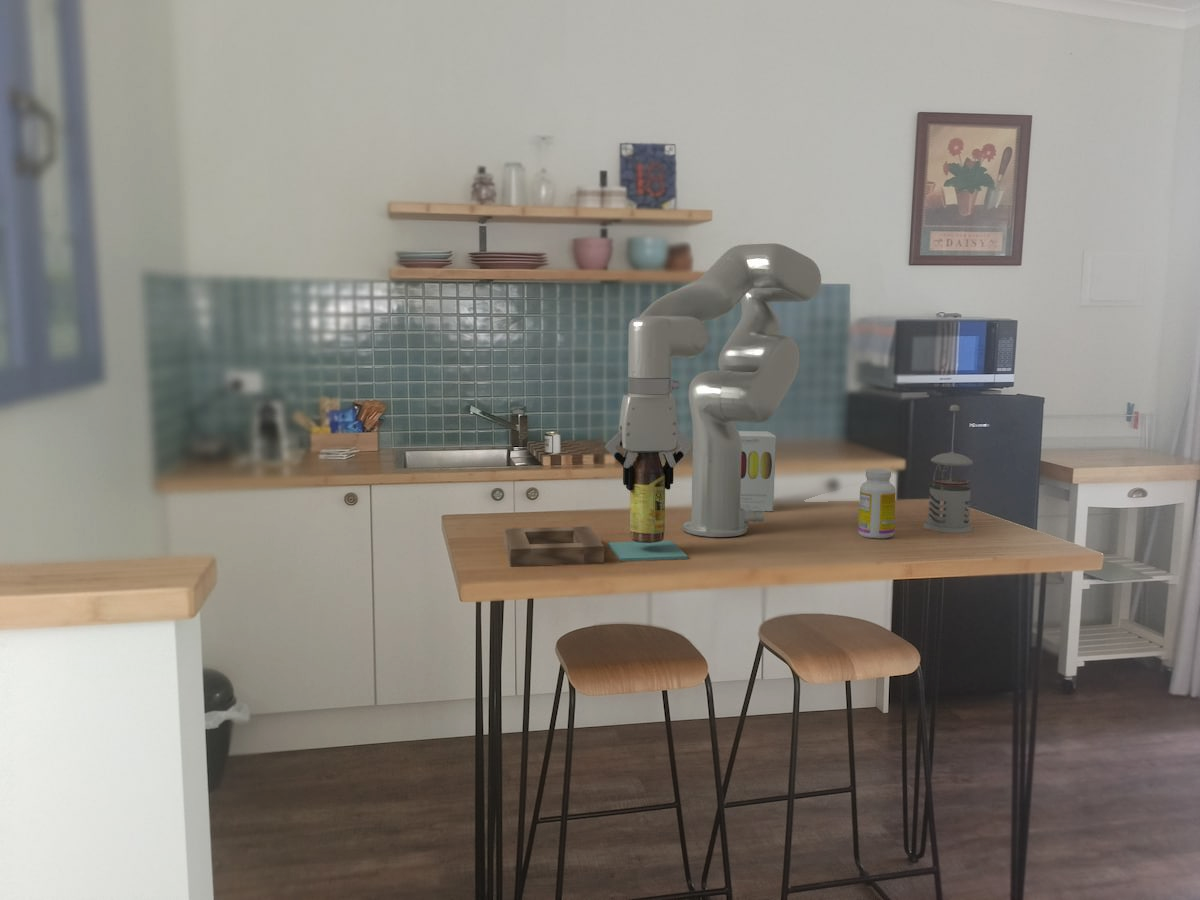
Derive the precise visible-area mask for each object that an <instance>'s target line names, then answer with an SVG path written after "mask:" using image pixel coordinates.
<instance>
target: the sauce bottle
mask: <svg viewBox="0 0 1200 900" xmlns="http://www.w3.org/2000/svg"><path fill="white" fill-rule="evenodd" d="M636 454H637V456H636V457H635V460H633V461H632V464H631V465H632V466H631V467H632V468H633V490H629V508H630V509H629V531H630V539H631V541H632V542H639V543H653V542H660V541H664V538H665V537H664V536H665V526H666V525H665V524H666V522H665V521H666V520H665V518H666V514H665V513H666V489H665V472H664V469H663V466H664V465H663V464H662V461H661V458H660V452H640V453H636Z"/></svg>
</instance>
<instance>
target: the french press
mask: <svg viewBox="0 0 1200 900" xmlns="http://www.w3.org/2000/svg"><path fill="white" fill-rule="evenodd" d="M949 411H951V412H952V411H953V423H952V438H951V451H950V452H945V453H940V454H936V455H935V456H933V457H932V458H930V461H931V462H932V463H933V464H935V465H936V467H935V470H934V472H933V478H932V479H931V482H932V484H931V485H930V486H929V494H930V495H928V496H929V497H928V499H929V501H928V506H929V507H928V513H927V514H928V515H927V516H928V517H927V521H926V522H925V523H924V524H922V525H921V526H922V528H924V529H925V530H926V529H927V530H929V531H935V532H939V533H946V534H947V533H948V534H949V533H952V534H962V533H963V534H964V533H971V532H973V531H974V528H973V527H972V526H971V525H970V524H969V523H970V521H969V519H970V509H971V508H970V506H971V493H972V491H971V488H970V487H967V486H966V485H969V483H970V481H969V480H968V479H965V478H963V477H962V478H959V477H957V478H956V477H952V471H953V468H952V467H953V466H954V467H966V466H967V467H968V466H972V465H973V464H974V461H973V460H972V459H970V458H969V457H968V456H966V455H963V454H960V453H957V452H954V438H955V437H954V435H955V420H956V417H955V416H956V412H959V411H961V410H960V405H959V404H952V405H950V407H949ZM941 465H942V466H943V469H941ZM949 466H950V469H949ZM937 470H939V471H940V472H941V476H938V477H936V473H937ZM948 470H950V471H949V472H950V473H949V477H948V476H947V477H946V476H945V477H944V472H945V473H946V472H947V471H948ZM935 483H936V484H935ZM943 485H944V487H943ZM941 502H943V504H941ZM940 509H942V510H940ZM940 515H942V516H940Z"/></svg>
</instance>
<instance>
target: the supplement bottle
mask: <svg viewBox="0 0 1200 900" xmlns="http://www.w3.org/2000/svg"><path fill="white" fill-rule="evenodd" d="M891 477H892V471H891V470H889V469H883V468H868V469H866V470H865V478H866V481H865V482H864V483H863V482H862V484H861V485H860V487H859V505H858V506H859V507H858V509H859V510H858V534H859V535H860V536H862V537H863V538H869V539H878V540H879V539H880V540H881V539H882V540H883V539H890V538H892V537H893V536H894V533H895V517H896V515H895V514H896V513H895V511H896V493H897V492H896V487H895V485H894V484H892V483H890V481H891Z"/></svg>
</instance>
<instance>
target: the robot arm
mask: <svg viewBox="0 0 1200 900" xmlns="http://www.w3.org/2000/svg"><path fill="white" fill-rule="evenodd" d="M821 285H822V275H821V270H820V268H819V266H818V265H817V263H816V262H815V261H814V260H813V259H812V258H810V257H808V256H807V255H804V254H802V253H800V252H798V251H797V250H795V249H793V248H791V247H788V246H786V245H783V244H780V243H773V242H772V243H755V244H754V243H753V244H752V243H751V244H750V243H749V244H738V245H735V246H733V247H730V248H729V249H728V250H726V251H725V252H724V253H723V254H722V255H721V256H720V257H719V258H718V260H717V261H715V262H714V263H713V265H711V266H710V267H709V268H708V270H706V271H705V272H704V273H703V274H702V276H701V277H700V278H699V279H697V280H695V281H693V282H690V283H687V284H686V285H684V286H681V287H679V288H677V289H676V290H673V291H671V292H668V293H667V294H665V295H663V296H661V297H659V298H658V299H656V300H655V301H654V302H652V303H651V304H650V305H649V306H648V307H647V308H646V309H645V310H644V311H643V312H642V313H641V314H640V315H639V317H634V318H632V319H631V320H630V321H629V324H628V346H627V347H628V351H627V352H628V359H627V363H628V364H627V366H628V367H627V375H628V377H627V394H624V395H622V399H621V401H622V402H621V407H620V411H619V412H620V415H619V425H618V432H617V433H616V434H615V435H614V436H613V437H612V438H611V439H610V440H609V441H608V442H607V443H606V444H605V446H604V448H605V449H606V451H607V452H608V453H609V454H610V455H611V456H612V457H614V459H615V460H616V461H617V462H618V463H619V464H620V465H622V483H623V486H625V488H626V489H627V491H630V490H633V468H632V465H633V462H634V459H635V457H636V456H635V455H636V454H637V453H640V452H659V453H661V454H662V456H663V458H664V461H665V462H664V464H663V465H662V466H663V469H664V472H665V490H671V485H673V484H674V468H675V467H676V465H677V464H678V463H679V462H680V461H681V459H683V458H684V456H685V455H686V454H687V453H688V452H690V450H691V449H692V465H691V467H692V469H691V470H692V472H691V515H690V516H691V517H690V519H691V520H688V521H685V522H684V523H683V526H682V527H683V528H682V529H683V531H685V533H687V534H690V535H693V536H699V537H707V538H728V537H729V538H732V537H733V538H734V537H738V536H742V535H745V534H747V532H748V525H747V524H749V522H754V523H757V522H765V521H764V520H765V514H764V513H765V512H753V511H745V510H744V509H742V508H740V493H741V456H742V442H741V438H740V435H739V432H738V431H739V430H738V429H737V427H736V425H735V422H740V423H741V422H742V423H749V424H750V423H753V424H755V423H756V424H758V423H764V422H766V421H768V420H769V419H771V418H772V417H773V415H775V413H776V411H777V409H778V408H779V406H780V405H781V403H782V401H783V399H784V398H785V396H786V394H787V392H788V391H789V389H790V387H791V386H792V384H793V383H794V380H795V379H796V375H797V373H798V370H799V368H800V367H799V365H800V351H799V347H798V344H797V343H796V342H795V340H794V339H792V338H791V337H789V336H787V335H784V334H781V329H782V327H781V323H780V320H779V318H778V316H777V314H776V313H775V311H774V310H773V309H772V305H771V303H778V302H779V303H782V302H784V303H786V302H788V303H794V302H795V303H796V302H800V303H803V302H808V301H811V300H813V299H814V298H815V297H816V296H817V294H818V293H819V292H820V288H821ZM739 302H740V305H741V318H740V320H739V322H738V323H737V325H736V327H735V328H734V329H733V332H732V333H731V335H730V336H729V338H728V340H727V341H726V342H725V344H724V345H723V347H722V349H721V351H720V353H719V356H718V359H717V360H718V361H717V362H718V363H717V365H718V369H719V370H707V371H702V372H700V373H698V374H696V376H695V377H693V378H692V381H691V382H690V384H689V388H688V404H689V409H690V414H691V422H692V444H691V442H689V440H687V439H686V437H684V435H682V434H681V432H680V431H679V426H678V425H679V424H678V413H677V405H676V404H677V403H676V399H675V396H674V395H672V393H673V390H676V389H677V390H678V389H679V388H680V384H679V383H680V382H679V381H678V380H676V381H675V380H674V379H673V378H672V359H691V358H695V357H697V356H699V355H701V354H702V353H703V352H704V351H705V349H706V347H707V346H708V342H709V331H708V328H707V326H706V325H705V323H704V322H708V321H712V320H716V319H719V318H721V317H724V316H725V315H727V314H729V313H731V311H732V310H733V308H735V306H737V304H738V303H739ZM618 445H619V447H620V448H621V449H623V451H624V454H621V453H620V451H619V450H618V449H617V448H616V447H617V446H618ZM679 445H680V447H679ZM678 447H679V448H678ZM677 449H678V450H677ZM674 451H675V452H674ZM672 452H674V453H672Z"/></svg>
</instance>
